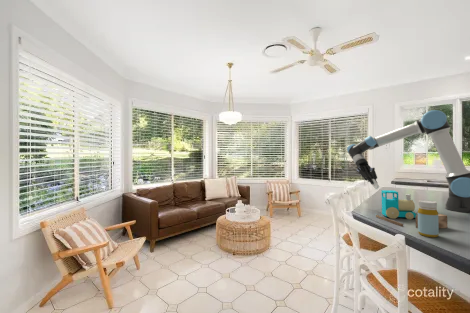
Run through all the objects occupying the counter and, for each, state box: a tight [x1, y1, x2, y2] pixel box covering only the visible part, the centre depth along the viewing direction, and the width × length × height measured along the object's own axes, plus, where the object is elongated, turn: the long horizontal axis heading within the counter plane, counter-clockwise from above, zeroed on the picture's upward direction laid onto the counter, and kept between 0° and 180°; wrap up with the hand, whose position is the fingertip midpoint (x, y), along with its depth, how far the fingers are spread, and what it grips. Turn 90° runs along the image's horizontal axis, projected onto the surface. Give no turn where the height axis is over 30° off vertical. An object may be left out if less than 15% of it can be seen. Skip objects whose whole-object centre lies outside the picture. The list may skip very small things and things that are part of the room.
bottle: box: [417, 199, 440, 238], centre depth 103 cm, size 7×7×15 cm
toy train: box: [381, 189, 418, 220], centre depth 132 cm, size 8×17×15 cm, turn 75°
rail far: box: [375, 214, 404, 227], centre depth 125 cm, size 1×18×1 cm, turn 5°
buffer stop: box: [415, 213, 448, 229], centre depth 114 cm, size 14×5×6 cm, turn 96°
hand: (377, 187), depth 149 cm, fingers closed
